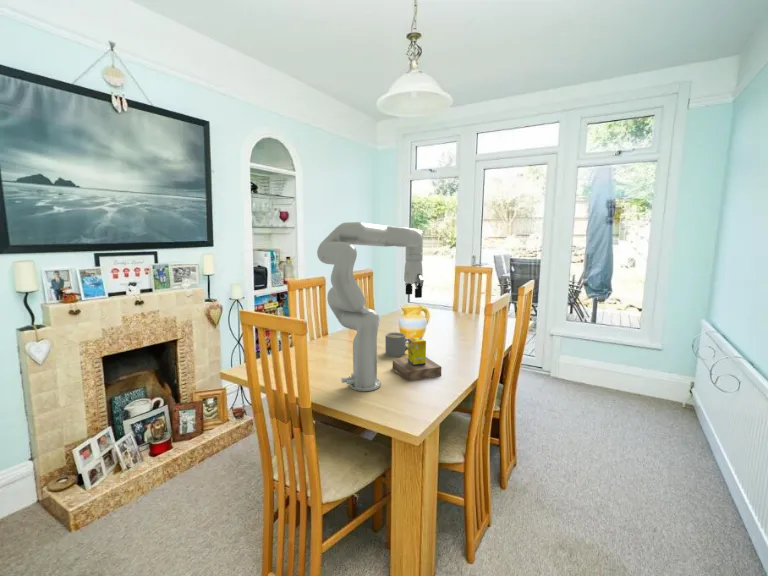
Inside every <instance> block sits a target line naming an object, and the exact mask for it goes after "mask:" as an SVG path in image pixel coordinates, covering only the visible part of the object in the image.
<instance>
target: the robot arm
mask: <svg viewBox="0 0 768 576" xmlns="http://www.w3.org/2000/svg"><path fill="white" fill-rule="evenodd" d="M423 238H424V232H423V231H422V229H417V228H412V227H410V228H409V227H403V226H394V225H393V226H392V225H385V224H377V223H370V222H362V221H355V222H354V221H353V222H351V221H350V222H348V221H347V222H342V223H340V224H339V225H337V226H336V227H335V228H334V229H333V230H332V231H331V232H330V233H329V234H328V236H326V237H325V238H324V239H323V240H322V241H321V242H320V244H319V246H318V248H317V252H316V254H317V255H316V256H317V258H318V260H319V261H320V262H321V263H323V264H324V265H333V267H332V271H331V273H330V274H331V275H330V283H331V286H332V287H331V288H330V289H329V290H328V293H327V296H326V298H327V299H326V300H327V304H328V306H329V307H330V310H331V311H332V313H333V315H334V316H335V318H336V319H337V321H338V322H339V324H340V325H341V326H342V327H343V328H347V329H349V330H353V331H355V332H356V334H355V336H354V338H353V341H352V370H353V371H352V372H353V373H350V376H348V377H341V378H340V379H341V381H340V382H341V384H343V383H344V384H346V385H349V388H351V389H352V390H354V391H358V392H371V391H375V390H377V389H379V388H380V387H381V385H382V384H381V383H382V382H381V380H380V379H378V371H377V370H378V332H379V327H380V315H379V314H378V313H377V311H376V310H373V309H371V308H369V307H365V306H366V298H365V295H364V293H363V292H362V290H361V288H360V286H359V284H358V283H357V281H356V279H355V276H354V267H355V263H356V260H357V255H358V252H357V248H356V247H355V246H371V247H399V248H401V247H402V248H405V263H404V273H403V274H404V276H403V277H404V278H403V280H404V282H405V283H404V284H405V295H408V296H409V295H413V285H414V287H415V288H414V298H416V299H421V298H422V297H423V286H424V280H425V279H424V278H423V277H424V275H423V257H424V256H423V253H424V252H423V251H424V250H423V248H424V245H423V244H424V240H423Z"/></svg>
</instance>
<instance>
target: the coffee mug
mask: <svg viewBox="0 0 768 576" xmlns="http://www.w3.org/2000/svg"><path fill="white" fill-rule="evenodd" d="M409 338H410V337H406V334H405V333H403V332H396V331H395V332H388V333H386V334H385V356H387V357H390V356H391V358H400V357H404V356H405V355H406V351H408V345H406V342H408V339H409Z"/></svg>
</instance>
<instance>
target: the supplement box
mask: <svg viewBox="0 0 768 576" xmlns="http://www.w3.org/2000/svg"><path fill="white" fill-rule="evenodd" d="M408 338H409V339H408V341H407V344H408V345H407V347H408V350H407V358H408V362H409V363H410V364H412V365H413V366H419V365H425V364H426V356H427V355H426V354H427V353H426V352H427V341H426V340H425V339H423V338H421V337H420V336H418V337H411V338H410V337H408Z"/></svg>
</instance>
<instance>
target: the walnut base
mask: <svg viewBox="0 0 768 576" xmlns="http://www.w3.org/2000/svg"><path fill="white" fill-rule="evenodd" d="M392 369H393V370H394V371H395V372H396V371H397V372H396V373H397V374H399V375H400V376H401V377H403V379H405V380H406V381H407V382H409V381H415V380H422V379H423V380H424V379H429V377H430V378H436V377H440V376H442V366H441V365H439V364H438V363H436V362H435V361H433V360H431V359H430V358H428V357H426V364H425V365H419V366H413V365H412V364H410V363H409V362H408V357H404V358H398V359H396V358H395V359H392ZM435 376H436V377H435Z"/></svg>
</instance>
